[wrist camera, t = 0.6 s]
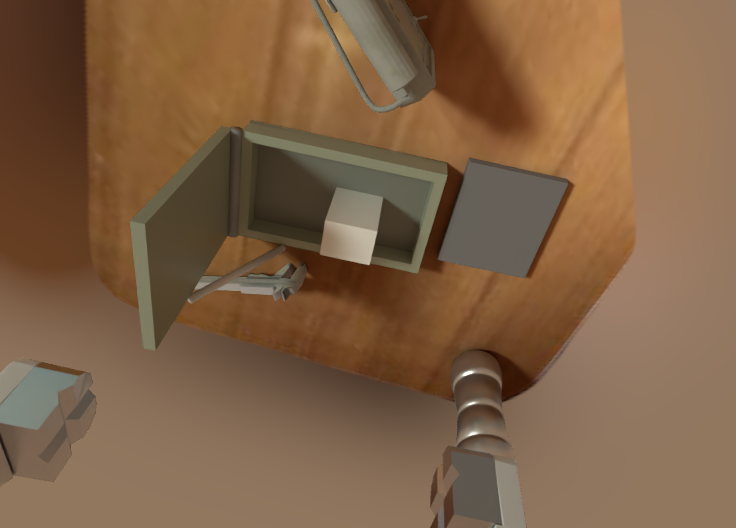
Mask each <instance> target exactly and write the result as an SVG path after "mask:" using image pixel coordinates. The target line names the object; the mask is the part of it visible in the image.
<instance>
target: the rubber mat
mask: <svg viewBox="0 0 736 528" xmlns="http://www.w3.org/2000/svg"><path fill="white" fill-rule="evenodd" d="M568 184H569V183H568V181H567V179H564V178H559V177H555V176H550V175H545V174H541V173H536V172H532V171H527V170H523V169H518V168H514V167H509V166H504V165H500V164H495V163H491V162H486V161H482V160H477V159H472V158H469V160H468V163H467V166H466V169H465V172H464V175H463V178H462V181H461V185H460V188H459V191H458V194H457V197H456V200H455V203H454V206H453V209H452V212H451V215H450V218H449V221H448V224H447V228H446V231H445V234H444V237H443V240H442V243H441V246H440V249H439V252H438V260H441V261H446V262H451V263H455V264H460V265H465V266H469V267H474V268H479V269H483V270H488V271H493V272H497V273H502V274H507V275H511V276H516V277H521V278H525V276H526V274H527V272H528V270H529V268H530V266H531V263H532V261H533V259H534V257H535V255H536V253H537V251H538V248H539V246H540V244H541V242H542V240H543V238H544V235H545V233H546V231H547V229H548V227H549V225H550V222H551V220H552V218H553V216H554V214H555V212H556V210H557V207H558V205H559V203H560V201H561V199H562V197H563V194H564V192H565V190H566V188H567V186H568Z"/></svg>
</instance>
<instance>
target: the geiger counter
mask: <svg viewBox="0 0 736 528" xmlns="http://www.w3.org/2000/svg"><path fill="white" fill-rule="evenodd" d="M310 1H311V3H312V4H313V6H314V8H315V10H316V12H317V14H318V16H319V18H320V20H321V21H322V23H323V25H324V27H325V29H326V31H327V33H328V35H329V36H330V38H331V40H332V42H333V44H334V46H335V48H336V50H337V52H338V53H339V55H340V57H341V59H342V61H343V63H344V65H345V67H346V68H347V70H348V72H349V74H350V76H351V78H352V80H353V82H354V83H355V85H356V87H357V89H358V91H359V92H360V94H361V96H362V98H363V99H364V101H365V102H366V104H367V105H368V106H369V107H370V108H371V109H372V110H373V111H376V112H378V113H382V112H389V111H391V110H394V109H396V108H398V107H399V106H400V107H401V108H403V107H405V106H408V105H410V104H413V103H415V102H418V101H420V100H422V99H423V98H424V97H425V96H426V95H427V94H428V93H429V92H430V91H431V90H432V89H433V88H434V87H435V86H436V76H435V55H434V50H433V49H432V47H431V45H430V43H429V42H428V40H427V38H426V36H425V35H424V33H423V31H422V30H421V28H420V26H419V24H418V21H417V20H421V19H426V18H427V15H425V16H422V17H418V18H417V17H415V16H413V14H412V12H411V11H410V9H409V7H408V5H407V4H406V2H405V0H325V1H326V3H327V4H328V6H329V7H330V9H331V10H332V11H333V12H334V13H336V12H337V11H338V12H339V14H340V15H341V17H342V18H343V20H344V21H345V23H346V25H347V26H348V28H349V29H350V31H351V32H352V34H353V35H354V37H355V38H356V40H357V42H358V43H359V45H360V46H361V48H362V49H363V51H364V52H365V54H366V56H367V57H368V59H369V60H370V62H371V63H372V65H373V66H374V68H375V69H376V71H377V73H378V74H379V76H380V77H381V79H382V80H383V82H384V83H385V85H386V86H387V88H388V90H389V91H390V92H391V93H392V95H393V96H394V98H395V99H396V102H395V103H393V104H391V105H388V106H383V107H378V106H376V105H375V104H374V103H373V102H372V101H371V100H370V98H369V97H368V95H367V94H366V92H365V90H364V88H363V86H362V85H361V83H360V81H359V79H358V77H357V75H356V73H355V71H354V70H353V68H352V66H351V64H350V62H349V60H348V58H347V56H346V54H345V52H344V51H343V49H342V47H341V45H340V43H339V41H338V39H337V37H336V35H335V33H334V31H333V30H332V28H331V26H330V24H329V22H328V20H327V18H326V16H325V14H324V12H323V11H322V9H321V7H320V5H319V3H318V1H317V0H310Z"/></svg>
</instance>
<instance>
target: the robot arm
mask: <svg viewBox="0 0 736 528" xmlns="http://www.w3.org/2000/svg"><path fill="white" fill-rule="evenodd" d="M92 384H93V380H92V376H91V373H89V372H84V371H80V370H75V369H71V368H67V367H62V366H58V365H53V364H49V363H45V362H41V361H36V360H31V359H26V358H21V357H19V358H18V359H16V360H14V361H12V362H11V363H10V364H9V365H8V366H7V367H6V368H5V369H4V370H3V371H2V372H1V373H0V486H2V485H3V484H5V483H6V482H8V481H9V480H11V479H12V478H13V475H15V476H21V477H27V478H33V479H38V480H44V481H50V482H54V481H55V479H56V478H57V476H58V475H59V473H60V472H61V470H62V469H63V467H64V466H65V464H66V463H67V461H68V460H69V458H70V457H71V455H72V452H71V444H73V443H74V442H76V441H78V440H80V439H81V438H83V437H84V436H85V434H86V433H87V431H88V430H89V428H90V426H91V424H92V422H93V419H94V416H95V414H96V406H97V402H96V396H95V395H94V394H93V393H92V392H91V391H90V390H89V388H90V387H91V385H92ZM430 508H431V509H432V511H433V513H434V514H435V516H436V517H435V519H434V521H433V523H432V525H431V527H430V528H527V526H526V520H525V514H524V508H523V502H522V496H521V490H520V484H519V478H518V472H517V465H516V463H515V461H514V459H512V458H507V457H502V456H497V455H491V454H490V453H485V452H480V451H474V450H469V449H464V448H459V447H453V446H448V447H446V449H445V451H444V453H443V464H441V465H439V466H437V468H436V471H435V473H434V476H433V481H432V485H431V496H430Z"/></svg>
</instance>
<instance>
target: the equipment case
mask: <svg viewBox="0 0 736 528" xmlns="http://www.w3.org/2000/svg"><path fill="white" fill-rule="evenodd" d="M447 176H448V172H447V163H446V162H442V161H437V160H433V159H428V158H423V157H419V156H414V155H410V154H405V153H400V152H396V151H391V150H387V149H382V148H378V147H373V146H368V145H364V144H359V143H355V142H350V141H346V140H341V139H336V138H332V137H327V136H323V135H318V134H314V133H309V132H304V131H300V130H295V129H291V128H286V127H282V126H277V125H272V124H268V123H263V122H259V121H254V120H251V121H250V123H249V124H248V125H247V126H246V127H245V128H244V130H243V129H242V128H240V127H231V128H228V127H224V126H221V128H220V129H219V130H218V131H217V132H216V133H215V134H214V135H213V136H212V137H211V138H210V139H209V140H208V141H207V142H206V143H205V144H204V145H203V146H202V147H201V148H200V149H199V150H198V151H197V152H196V153H195V154H194V155H193V156H192V157H191V158H190V160H189V161H188V162H187V163H186V164H185V165H184V166H183V167H182V168H181V169H180V170H179V171H178V172H177V173H176V174H175V175H174V176H173V177H172V178H171V179H170V180H169V181H168V182H167V183H166V184H165V185H164V186H163V187H162V188H161V189H160V190H159V192H158V193H157V194H156V195H155V196H154V197H153V198H152V199H151V200H150V201H149V202H148V203H147V204H146V205H145V206H144V207H143V208H142V209H141V210H140V211H139V212H138V213H137V214H136V215H135V216H134V217H133V218H132V219H131V220H130V226H131V236H132V245H133V255H134V265H135V274H136V284H137V294H138V303H139V313H140V322H141V331H142V342H143V348H145V349H150V350H154V351H156V349H157V347H158V346H159V344H160V343H161V341H162V339H163V338H164V336H165V335H166V333H167V332H168V330H169V328H170V327H171V325H172V324H173V322H174V321H175V319H176V317H177V316H178V314H179V313H180V311H181V309H182V308H183V306H184V305H185V303H186V301H187V300H188V302H189V303H193V302H195V301H197V300H199V299H201V298H202V297H204V296H206V295H208V294H209V293H211V292H213V291H215V290H217V289H218V288H220V287H222V286H224V285H225V284H227V283H229V282H231V281H233V280H234V279H236V278H238V277H240V276H241V275H243V274H245V273H247V272H248V271H250V270H252V269H254V268H256V267H257V266H259V265H261V264H263V263H264V262H266V261H268V260H270V259H272V258H273V257H275V256H277V255H279V254H280V253H282V252H284V251H285V250H286V248H285V246H284V245H286V246H291V247H296V248H300V249H305V250H310V251H314V252H319V253H320V250H321V244H322V237H323V231H324V225H325V219H326V217H327V214H328V211H329V208H330V205H331V202H332V199H333V196H334V193H335V190H336V187H339V188H343V189H348V190H353V191H357V192H362V193H366V194H371V195H376V196H380V197H383V201H382V207H381V213H380V219H379V225H378V231H377V235H376V239H375V244H374V248H373V252H372V257H371V261H370V263H371V264H375V265H380V266H385V267H389V268H394V269H399V270H404V271H408V272H413V273H418V271H419V268H420V264H421V261H422V258H423V255H424V251H425V248H426V245H427V241H428V238H429V235H430V232H431V228H432V225H433V222H434V219H435V215H436V212H437V209H438V205H439V202H440V199H441V196H442V192H443V189H444V186H445V183H446V179H447ZM238 235H239V236H244V237H249V238H253V239H258V240H263V241H268V242H272V243H277V244H282V245H280V246H278V247H276V248H274V249H272V250H270V251H269V252H267V253H265V254H263V255H261V256H259V257H258V258H256V259H254V260H252V261H250V262H248V263H247V264H245V265H243V266H241V267H239V268H237V269H236V270H234V271H232V272H230V273H228V274H226V275H225V276H223V277H221V278H219V279H217V280H215V281H214V282H212V283H210V284H208V285H206V286H204V287H203V288H201V289H199V290H197V291H195V292H193V290H194V289H195V287H196V285H197V284H198V282H199V281H200V279H201V277H202V276H203V274H204V273H205V271H206V269H207V268H208V266H209V265H210V263H211V261H212V260H213V258H214V257H215V255H216V253H217V252H218V250H219V249H220V247H221V245H222V244H223V242H224V241H225V239H226V237H227V236H229V237H237V236H238ZM192 292H193V293H192ZM191 293H192V294H191Z"/></svg>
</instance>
